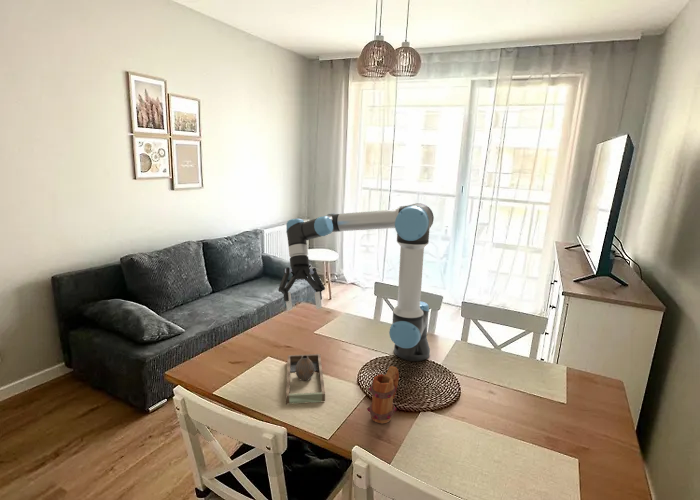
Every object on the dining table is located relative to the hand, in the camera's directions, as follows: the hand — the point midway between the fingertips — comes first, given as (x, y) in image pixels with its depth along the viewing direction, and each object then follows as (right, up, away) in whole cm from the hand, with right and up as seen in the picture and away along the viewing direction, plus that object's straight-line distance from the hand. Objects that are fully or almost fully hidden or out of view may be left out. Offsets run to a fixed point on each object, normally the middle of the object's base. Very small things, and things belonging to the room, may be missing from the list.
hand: (304, 309), depth 155 cm
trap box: (+1, -25, -8) cm, 26 cm away
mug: (+29, -31, -26) cm, 50 cm away
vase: (+1, -25, -6) cm, 26 cm away
